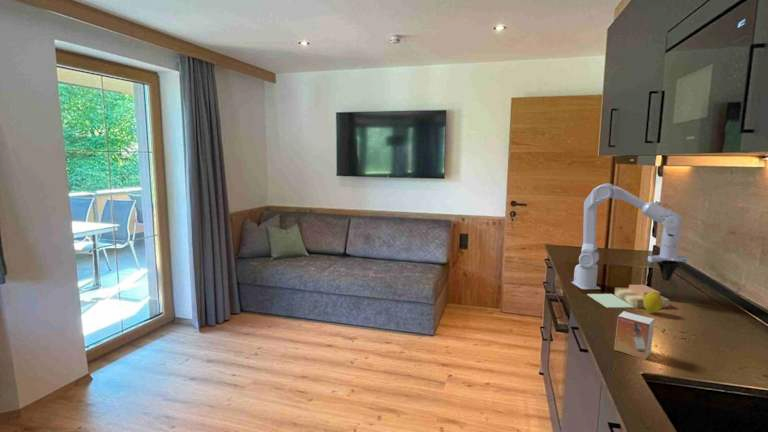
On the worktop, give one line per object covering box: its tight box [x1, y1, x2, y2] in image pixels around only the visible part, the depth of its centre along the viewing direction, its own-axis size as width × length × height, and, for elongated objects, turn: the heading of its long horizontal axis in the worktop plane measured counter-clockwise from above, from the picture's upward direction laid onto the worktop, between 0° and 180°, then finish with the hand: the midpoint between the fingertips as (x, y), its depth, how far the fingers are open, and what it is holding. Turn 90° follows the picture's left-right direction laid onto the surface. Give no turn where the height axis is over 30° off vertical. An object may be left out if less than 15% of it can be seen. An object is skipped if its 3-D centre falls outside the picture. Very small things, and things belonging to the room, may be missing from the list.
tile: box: [628, 284, 661, 298], centre depth 156 cm, size 9×6×2 cm, turn 2°
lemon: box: [643, 292, 662, 314], centre depth 144 cm, size 6×6×8 cm
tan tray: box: [613, 287, 670, 309], centre depth 156 cm, size 14×12×3 cm
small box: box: [613, 310, 656, 360], centre depth 115 cm, size 8×6×10 cm
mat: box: [586, 293, 635, 309], centre depth 156 cm, size 14×10×1 cm
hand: (665, 280), depth 156 cm, fingers closed
